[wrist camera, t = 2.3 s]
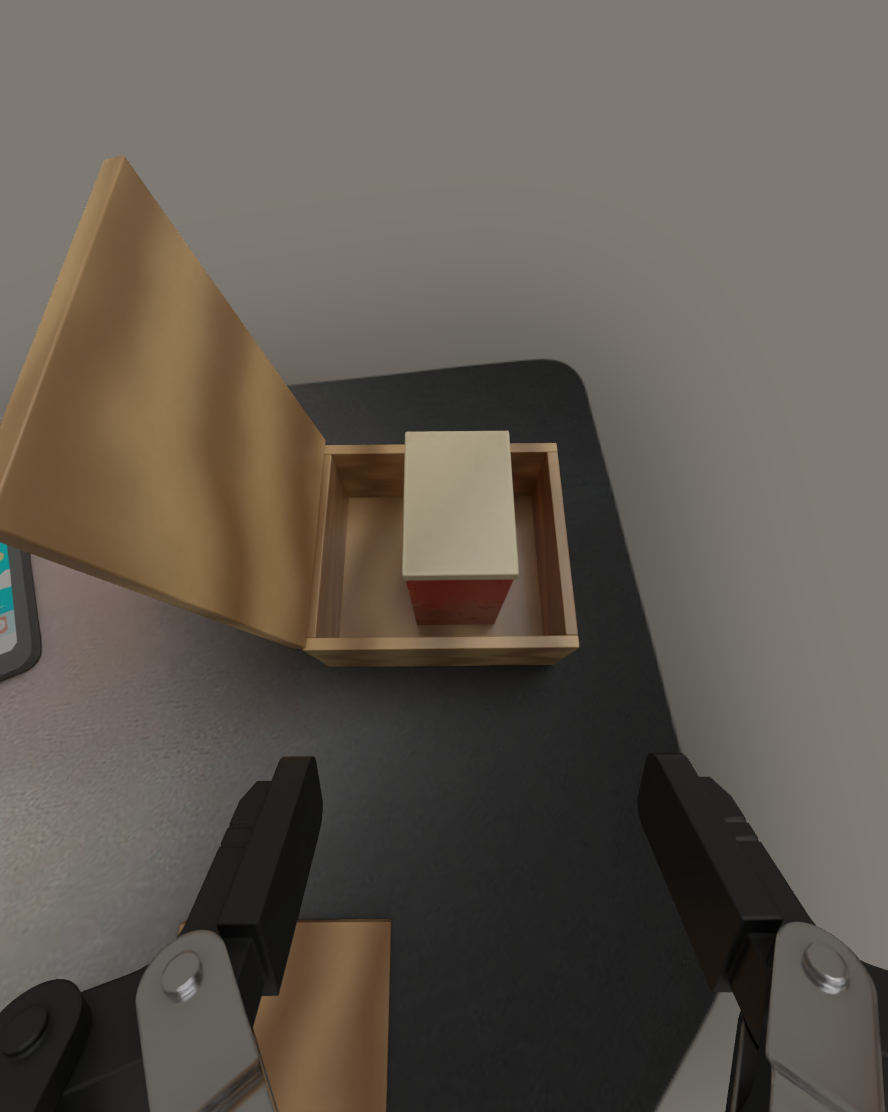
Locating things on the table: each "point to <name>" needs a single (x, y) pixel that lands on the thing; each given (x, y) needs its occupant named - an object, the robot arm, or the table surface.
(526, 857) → the table surface
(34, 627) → the smartphone
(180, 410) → the chest lid
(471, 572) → the biscuit tin
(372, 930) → the wooden square board
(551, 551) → the chest
